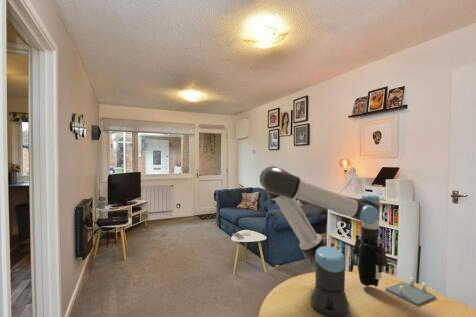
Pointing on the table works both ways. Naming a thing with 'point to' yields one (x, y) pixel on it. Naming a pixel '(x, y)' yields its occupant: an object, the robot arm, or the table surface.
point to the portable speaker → (368, 264)
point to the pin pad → (411, 292)
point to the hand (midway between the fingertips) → (368, 273)
